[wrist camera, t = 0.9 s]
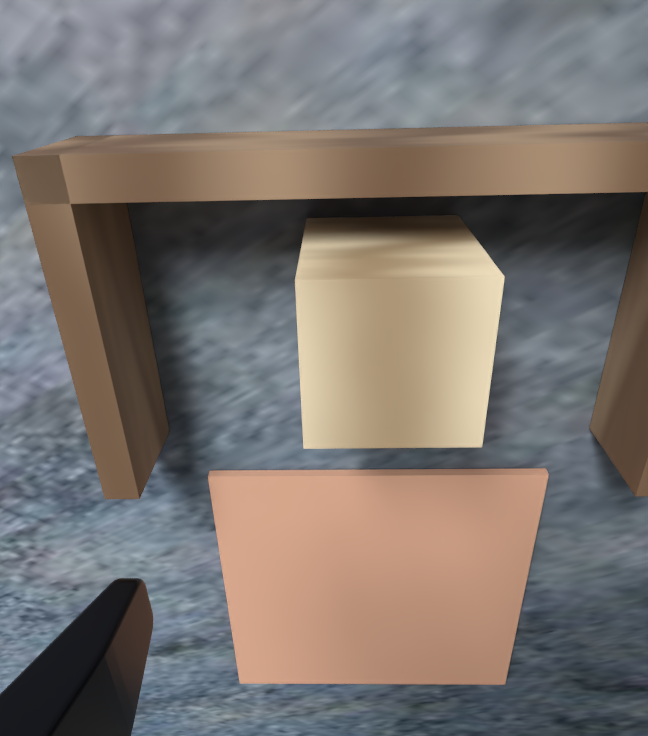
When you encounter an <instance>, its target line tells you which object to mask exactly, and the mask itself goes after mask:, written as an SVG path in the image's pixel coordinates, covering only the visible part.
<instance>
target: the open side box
mask: <svg viewBox="0 0 648 736" xmlns="http://www.w3.org/2000/svg"><path fill="white" fill-rule="evenodd" d="M12 158H13V162H14V166H15V169H16V173H17V177H18V180H19V184H20V188H21V191H22V195H23V199H24V202H25V206H26V210H27V213H28V217H29V221H30V225H31V228H32V232H33V236H34V239H35V243H36V247H37V250H38V254H39V258H40V261H41V265H42V269H43V272H44V276H45V280H46V283H47V287H48V291H49V295H50V298H51V302H52V306H53V309H54V313H55V317H56V320H57V324H58V328H59V331H60V335H61V339H62V342H63V346H64V350H65V354H66V357H67V361H68V365H69V368H70V372H71V376H72V379H73V383H74V387H75V390H76V394H77V398H78V401H79V405H80V409H81V412H82V416H83V420H84V424H85V427H86V431H87V435H88V438H89V442H90V446H91V449H92V453H93V457H94V460H95V464H96V468H97V471H98V475H99V479H100V482H101V486H102V490H103V494H104V497H105V499H140V497H141V494H142V492H143V490H144V488H145V485H146V483H147V481H148V479H149V476H150V474H151V472H152V470H153V467H154V465H155V463H156V461H157V458H158V456H159V454H160V452H161V450H162V447H163V445H164V443H165V441H166V438H167V436H168V434H169V427H168V421H167V416H166V411H165V405H164V400H163V395H162V389H161V384H160V379H159V373H158V368H157V363H156V357H155V352H154V346H153V341H152V336H151V330H150V325H149V320H148V314H147V309H146V304H145V298H144V293H143V288H142V282H141V277H140V272H139V266H138V261H137V256H136V250H135V245H134V240H133V234H132V229H131V224H130V218H129V213H128V208H127V203H133V202H181V201H230V200H278V199H327V198H375V197H424V196H472V195H521V194H570V193H618V192H646V194H645V198H644V202H643V207H642V211H641V215H640V219H639V223H638V228H637V232H636V236H635V240H634V244H633V248H632V253H631V257H630V261H629V265H628V269H627V274H626V278H625V282H624V286H623V290H622V294H621V299H620V303H619V307H618V311H617V315H616V319H615V324H614V328H613V332H612V336H611V340H610V345H609V349H608V353H607V357H606V361H605V365H604V370H603V374H602V378H601V382H600V386H599V391H598V395H597V399H596V403H595V407H594V411H593V416H592V420H591V424H590V430H591V431H592V433H593V434H594V436H595V437H596V439H597V440H598V442H599V443H600V444H601V446H602V447H603V449H604V450H605V452H606V453H607V455H608V456H609V458H610V459H611V461H612V462H613V464H614V465H615V467H616V468H617V470H618V471H619V473H620V474H621V476H622V477H623V479H624V480H625V481H626V483H627V484H628V486H629V487H630V489H631V490H632V492H633V493H634V495H635V496H648V123H607V124H566V125H524V126H483V127H442V128H400V129H359V130H318V131H276V132H235V133H194V134H152V135H111V136H75V137H72V138H69V139H66V140H63V141H59V142H56V143H53V144H50V145H46V146H43V147H40V148H37V149H33V150H30V151H27V152H24V153H21V154H17V155H14V156H12Z"/></svg>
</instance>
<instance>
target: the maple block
mask: <svg viewBox="0 0 648 736" xmlns="http://www.w3.org/2000/svg"><path fill="white" fill-rule="evenodd" d="M504 279H505V277H504V275H503V274H502V273H501V271H500V270H499V269H498V267H497V266H496V265H495V263H494V262H493V261H492V259H491V258H490V257H489V255H488V254H487V253H486V251H485V250H484V249H483V247H482V246H481V245H480V243H479V242H478V241H477V239H476V238H475V237H474V235H473V234H472V233H471V231H470V230H469V229H468V227H467V226H466V225H465V223H464V222H463V221H462V219H461V218H460V217H459V216H458V215H448V216H397V217H345V218H307V219H306V224H305V230H304V235H303V240H302V245H301V251H300V256H299V261H298V267H297V272H296V277H295V292H296V311H297V330H298V350H299V369H300V389H301V408H302V427H303V447H304V449H320V448H454V447H482V444H483V436H484V429H485V421H486V414H487V406H488V399H489V391H490V384H491V376H492V369H493V361H494V354H495V346H496V339H497V331H498V324H499V316H500V309H501V301H502V294H503V286H504Z"/></svg>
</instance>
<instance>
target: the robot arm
mask: <svg viewBox="0 0 648 736" xmlns="http://www.w3.org/2000/svg"><path fill="white" fill-rule="evenodd" d="M152 629H153V613H152V609H151V605H150V601H149V597H148V593H147V589H146V585H145V583H144V581H143V580H142V579H139V578H121V579H117V580H115V581H113V582H112V583H111V584H110V585H109V586H108V587H107V588H106V589H105V590H104V591H103V592H102V593H101V594H100V595H99V596H98V597H97V598H96V599H95V600H94V601H93V602H92V603H91V604H90V605H89V606H88V607H87V608H86V609H85V610H84V611H83V612H82V613H81V614H80V615H79V616H78V617H77V618H76V619H75V620H74V621H73V622H72V623H71V624H70V625H69V626H68V627H67V628H66V629H65V630H64V631H63V632H62V633H61V634H60V635H59V636H58V637H57V638H56V639H55V640H54V641H53V642H52V643H51V644H50V645H49V646H48V647H47V648H46V649H45V650H44V651H43V652H42V653H41V654H40V655H39V656H38V657H37V658H36V659H35V660H34V661H33V662H32V663H31V664H30V665H29V666H28V667H27V668H26V669H25V670H24V671H23V672H22V673H21V674H20V675H19V676H18V677H17V678H16V679H15V680H14V681H13V682H12V683H11V684H10V685H9V686H8V687H7V688H6V689H5V690H4V691H3V692H2V693H1V694H0V736H131V732H132V728H133V723H134V719H135V714H136V709H137V704H138V699H139V694H140V689H141V684H142V679H143V674H144V669H145V664H146V659H147V654H148V649H149V644H150V640H151V635H152Z"/></svg>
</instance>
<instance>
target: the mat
mask: <svg viewBox="0 0 648 736" xmlns="http://www.w3.org/2000/svg"><path fill="white" fill-rule="evenodd" d="M548 476H549V474H548V472H547V470H546V468H532V469H375V470H217V471H209V474H208V481H209V487H210V494H211V500H212V507H213V513H214V520H215V526H216V533H217V539H218V545H219V552H220V558H221V565H222V571H223V578H224V584H225V591H226V597H227V603H228V610H229V616H230V623H231V629H232V636H233V642H234V648H235V655H236V661H237V668H238V674H239V681H240V683H272V684H475V685H505V683H506V678H507V673H508V668H509V664H510V659H511V654H512V649H513V644H514V640H515V635H516V630H517V625H518V620H519V616H520V611H521V606H522V601H523V596H524V591H525V587H526V582H527V577H528V572H529V567H530V563H531V558H532V553H533V548H534V543H535V539H536V534H537V529H538V524H539V519H540V514H541V510H542V505H543V500H544V495H545V490H546V486H547V481H548Z"/></svg>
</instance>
